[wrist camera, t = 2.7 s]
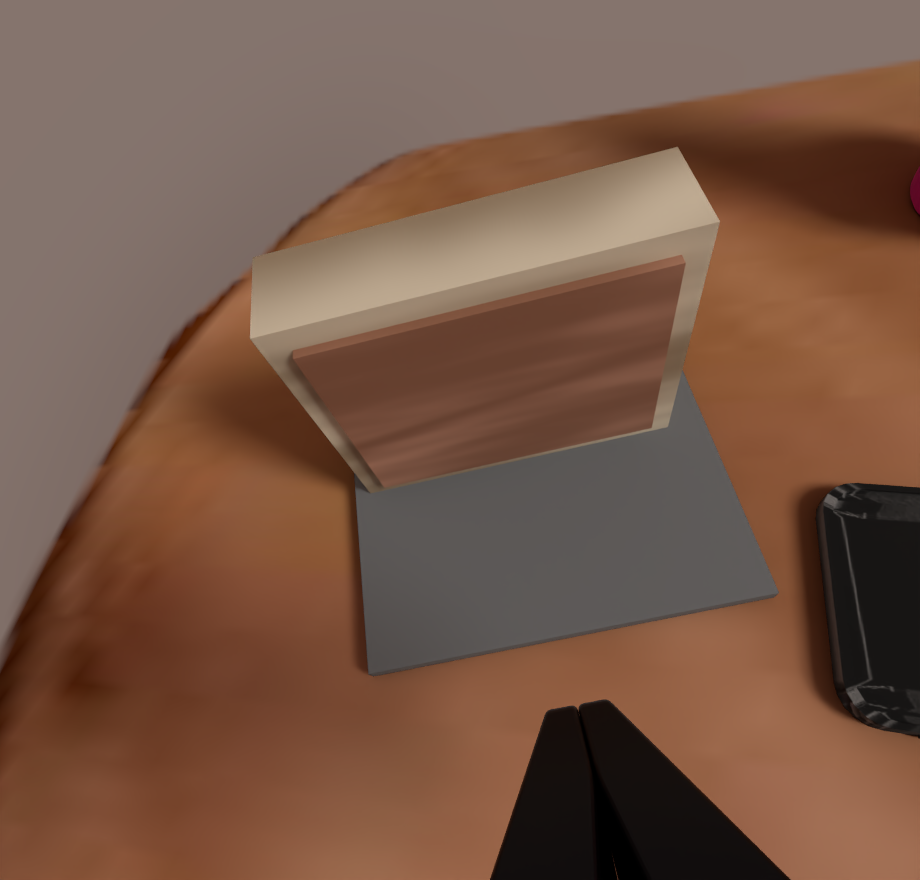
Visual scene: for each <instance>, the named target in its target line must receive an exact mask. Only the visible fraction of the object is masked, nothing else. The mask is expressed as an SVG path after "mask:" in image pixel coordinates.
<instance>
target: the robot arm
mask: <svg viewBox="0 0 920 880" xmlns="http://www.w3.org/2000/svg"><path fill="white" fill-rule="evenodd" d="M579 715H580V716H579ZM613 860H614V861H613ZM614 864H615V865H614ZM615 868H616V870H615ZM616 873H617V874H616ZM617 877H618V879H617ZM490 880H790V879H789V878H788V877H787V876H786V875H785V874H784V873H783V872H782V871H781V870H780V869H779V868H778V867H777V866H776V865H775V864H774V863H773V862H772V861H771V860H770V859H769V858H768V857H767V856H766V855H765V854H764V853H763V852H762V851H761V850H760V849H759V848H758V847H757V846H756V845H755V844H754V843H753V842H752V841H751V840H750V839H749V838H748V837H747V836H746V835H745V834H744V833H743V832H742V831H741V830H740V829H739V828H738V827H737V826H736V825H735V824H734V823H733V822H732V821H731V820H730V819H729V818H728V817H727V816H726V815H725V814H724V813H723V812H722V811H721V810H720V809H719V808H718V807H717V806H716V805H715V804H714V803H713V802H712V801H711V800H710V799H709V798H708V797H707V796H706V795H705V794H704V793H703V792H701V791H700V790H699V789H698V788H697V787H696V786H695V785H694V784H693V783H692V782H691V781H690V780H689V779H688V778H687V777H686V776H685V775H684V774H683V773H682V772H681V771H680V770H679V769H678V768H677V767H676V766H675V765H674V764H673V763H672V762H671V761H670V760H669V759H668V758H667V757H666V756H665V755H664V754H663V753H662V752H661V751H660V750H659V749H658V748H657V747H656V746H655V745H654V744H653V743H652V742H651V741H650V740H649V739H648V738H647V737H646V736H645V735H644V734H643V733H642V732H641V731H640V730H639V729H638V728H637V727H636V726H635V725H634V724H633V723H632V722H631V721H630V720H629V719H628V718H627V717H626V716H625V715H624V714H623V713H622V712H621V711H620V710H619V709H618V708H617V707H616V706H615V705H614V704H612V703H611V702H610V701H609V700H599V701H594V702H588V703H583V704H581V705H580V706H579V712H578V709H577V708H576V707H575V706H567V707H562V708H556V709H551V710H549V711H547V712H546V714H545V716H544V719H543V722H542V725H541V728H540V731H539V734H538V737H537V740H536V743H535V746H534V749H533V752H532V755H531V758H530V761H529V764H528V767H527V770H526V773H525V776H524V779H523V782H522V785H521V788H520V791H519V794H518V797H517V800H516V803H515V806H514V809H513V812H512V815H511V818H510V821H509V824H508V827H507V830H506V833H505V836H504V839H503V842H502V845H501V848H500V851H499V854H498V857H497V860H496V863H495V866H494V869H493V872H492V875H491V878H490Z"/></svg>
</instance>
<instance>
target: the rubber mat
mask: <svg viewBox="0 0 920 880" xmlns="http://www.w3.org/2000/svg"><path fill="white" fill-rule="evenodd" d="M354 478H355V492H356V506H357V521H358V535H359V549H360V563H361V577H362V591H363V605H364V619H365V633H366V647H367V661H368V674H369V675H372V676H378V675H383V674H388V673H393V672H398V671H403V670H408V669H413V668H419V667H424V666H429V665H434V664H439V663H444V662H449V661H454V660H459V659H464V658H469V657H474V656H479V655H484V654H489V653H494V652H500V651H505V650H510V649H515V648H520V647H525V646H530V645H535V644H540V643H545V642H550V641H555V640H560V639H565V638H570V637H576V636H581V635H586V634H591V633H596V632H601V631H606V630H611V629H616V628H621V627H626V626H631V625H636V624H641V623H646V622H651V621H657V620H662V619H667V618H672V617H677V616H682V615H687V614H692V613H697V612H702V611H707V610H712V609H717V608H722V607H727V606H733V605H738V604H743V603H748V602H753V601H758V600H763V599H768V598H773V597H775V596H776V595H777V594H778V593H779V592H778V589H777V587H776V585H775V583H774V580H773V578H772V576H771V573H770V571H769V569H768V566H767V564H766V562H765V559H764V557H763V555H762V553H761V550H760V548H759V546H758V543H757V541H756V539H755V536H754V534H753V532H752V530H751V527H750V525H749V523H748V520H747V518H746V516H745V513H744V511H743V509H742V506H741V504H740V502H739V500H738V497H737V495H736V493H735V490H734V488H733V486H732V483H731V481H730V479H729V476H728V474H727V472H726V470H725V467H724V465H723V463H722V460H721V458H720V456H719V453H718V451H717V449H716V446H715V444H714V442H713V440H712V437H711V435H710V433H709V430H708V428H707V426H706V423H705V421H704V419H703V417H702V414H701V412H700V410H699V407H698V405H697V403H696V400H695V398H694V396H693V393H692V391H691V389H690V387H689V384H688V382H687V380H686V377H685V375H684V373H683V370H682V373H681V377H680V381H679V385H678V389H677V393H676V397H675V401H674V405H673V408H672V412H671V416H670V420H669V424H668V427H666V428H661V429H657V430H652V431H648V432H644V433H639V434H635V435H630V436H626V437H621V438H617V439H612V440H608V441H603V442H599V443H594V444H590V445H585V446H581V447H576V448H572V449H567V450H563V451H558V452H554V453H549V454H545V455H540V456H536V457H532V458H527V459H523V460H518V461H514V462H509V463H505V464H500V465H496V466H491V467H487V468H482V469H478V470H473V471H469V472H464V473H460V474H455V475H451V476H446V477H442V478H437V479H433V480H429V481H424V482H420V483H415V484H411V485H406V486H402V487H397V488H393V489H388V490H384V491H379V492H375V493H370V492H369V491H368V490H367V488H366V487H365V486H364V484H363V483H362V482H361V481H360V479H359V478H358V477H357V475H356V474H355V473H354Z"/></svg>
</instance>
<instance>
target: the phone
mask: <svg viewBox="0 0 920 880" xmlns="http://www.w3.org/2000/svg"><path fill="white" fill-rule="evenodd" d="M816 525H817V534H818V543H819V552H820V561H821V570H822V579H823V588H824V597H825V606H826V615H827V625H828V634H829V643H830V652H831V661H832V670H833V679H834V685H835V688H836V692H837V695H838V697H839V699H840V700H841V702H842V704H843V705H844V707H845V708H846V709H847V710H848V711H849V712H850V713H851V714H852V715H853V716H854V717H855V718H856V719H858V720H859V721H861V722H863V723H864V724H866V725H868V726H870V727H873V728H877V729H880V730H884V731H890V732H896V733H903V734H909V735H915V736H918V738H920V488H917V487H903V486H890V485H876V484H862V483H850V484H843V485H840V486H838V487H835V488H834V489H833V490H832V491H830V492H829V493H828V494H827V495H826V496H825V497H824V498H823V500H822V501H821V502H820V504H819V506H818V508H817V510H816Z"/></svg>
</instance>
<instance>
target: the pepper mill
mask: <svg viewBox="0 0 920 880" xmlns="http://www.w3.org/2000/svg"><path fill="white" fill-rule="evenodd" d="M910 197H911V200H912V202H913V205H914V208H915V210H916V211H917V213H918V214H919V215H920V166H919V168H918V170H917V172H916V174H915V176H914V178H913V180H912V182H911V186H910Z"/></svg>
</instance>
